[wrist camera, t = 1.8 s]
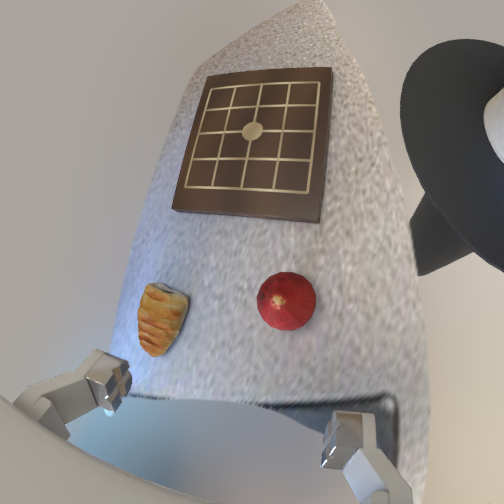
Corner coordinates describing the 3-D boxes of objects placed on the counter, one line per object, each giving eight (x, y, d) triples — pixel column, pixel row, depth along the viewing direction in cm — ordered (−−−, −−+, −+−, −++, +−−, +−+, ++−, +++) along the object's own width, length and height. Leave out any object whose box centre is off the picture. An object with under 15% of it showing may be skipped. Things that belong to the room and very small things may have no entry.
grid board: (332, 74, 37) (331, 66, 35) (319, 223, 34) (317, 219, 33) (211, 81, 43) (207, 75, 42) (177, 211, 41) (170, 208, 39)
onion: (261, 316, 35) (234, 318, 27) (279, 268, 35) (256, 258, 28) (308, 335, 33) (293, 344, 25) (327, 285, 33) (318, 280, 25)
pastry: (176, 363, 37) (158, 367, 34) (138, 343, 40) (120, 345, 36) (194, 295, 38) (177, 293, 34) (154, 279, 41) (136, 276, 37)
